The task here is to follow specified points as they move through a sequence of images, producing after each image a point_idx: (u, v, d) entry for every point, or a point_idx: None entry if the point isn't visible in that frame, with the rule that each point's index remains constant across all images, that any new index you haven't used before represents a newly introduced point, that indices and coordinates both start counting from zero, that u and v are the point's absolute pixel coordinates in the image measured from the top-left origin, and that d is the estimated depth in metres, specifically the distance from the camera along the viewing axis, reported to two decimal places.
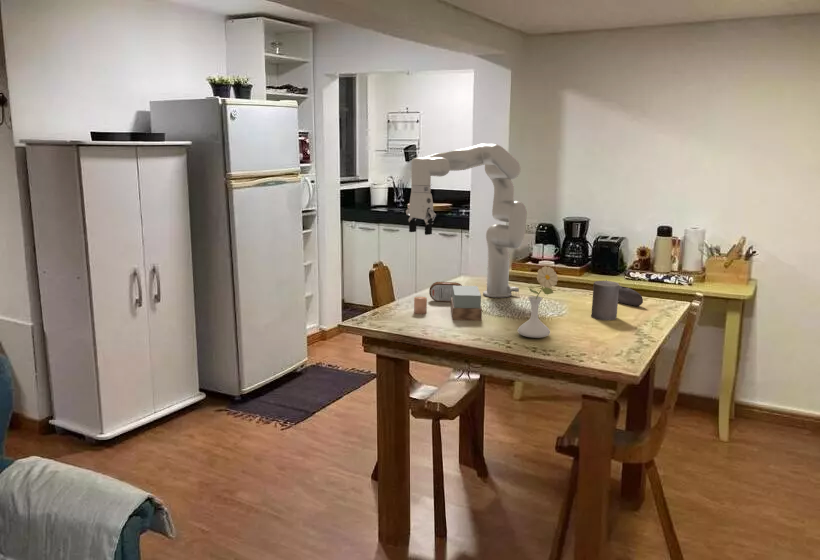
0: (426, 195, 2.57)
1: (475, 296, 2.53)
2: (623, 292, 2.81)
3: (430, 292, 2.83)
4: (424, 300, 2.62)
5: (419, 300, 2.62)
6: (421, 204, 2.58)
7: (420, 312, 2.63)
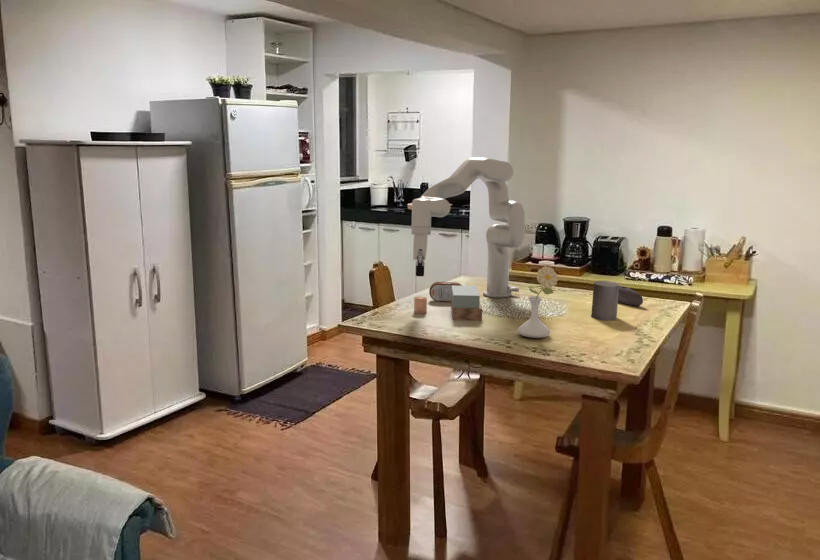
0: None
1: (474, 296, 2.53)
2: (623, 293, 2.81)
3: (430, 292, 2.83)
4: (424, 300, 2.62)
5: (419, 300, 2.62)
6: None
7: (420, 312, 2.63)
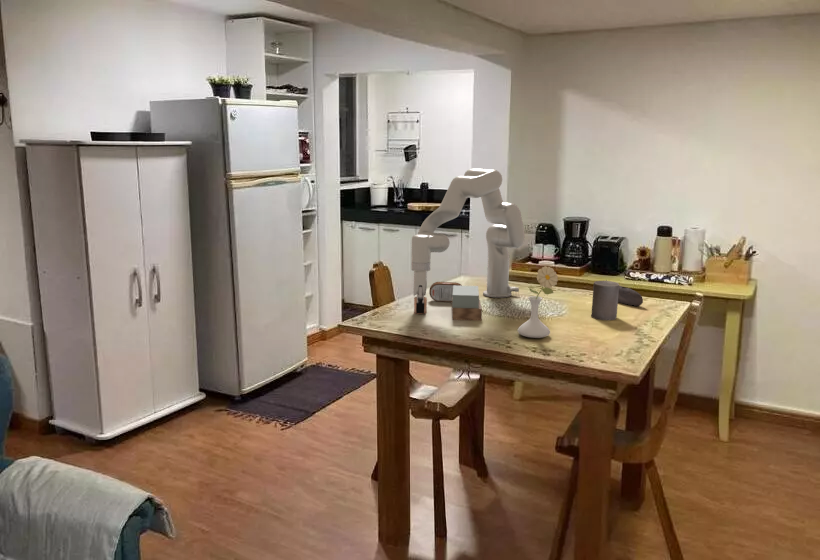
0: None
1: (473, 296, 2.53)
2: (623, 293, 2.81)
3: (430, 292, 2.83)
4: (424, 300, 2.62)
5: None
6: None
7: None
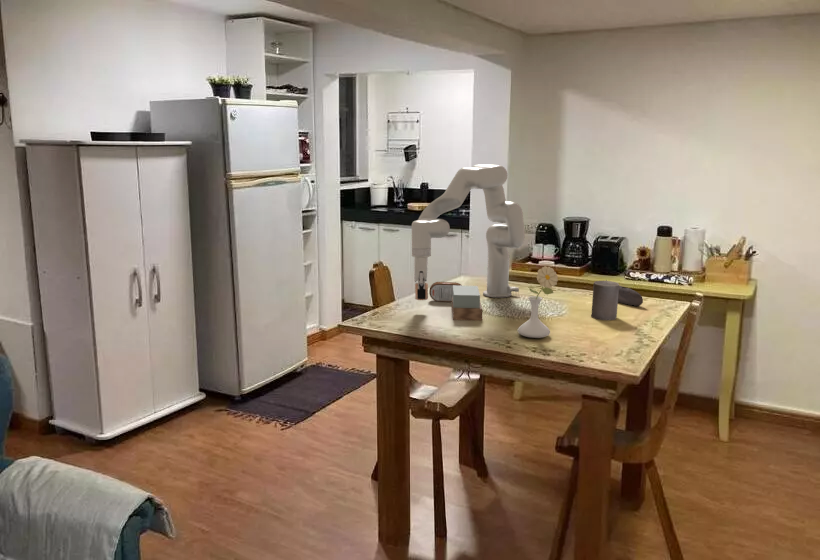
0: None
1: (474, 296, 2.53)
2: (623, 293, 2.81)
3: (430, 292, 2.83)
4: (425, 286, 2.61)
5: None
6: None
7: None
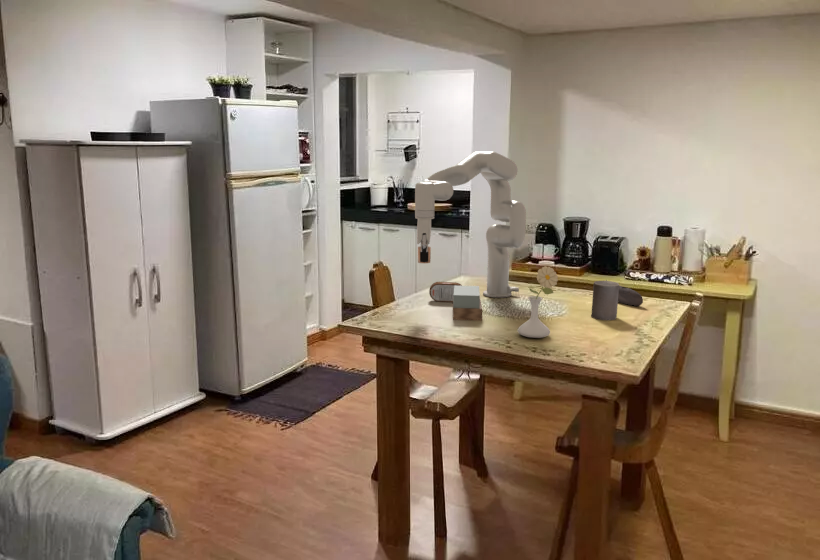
0: None
1: (474, 296, 2.53)
2: (623, 293, 2.81)
3: (430, 292, 2.83)
4: (428, 249, 2.58)
5: None
6: None
7: None
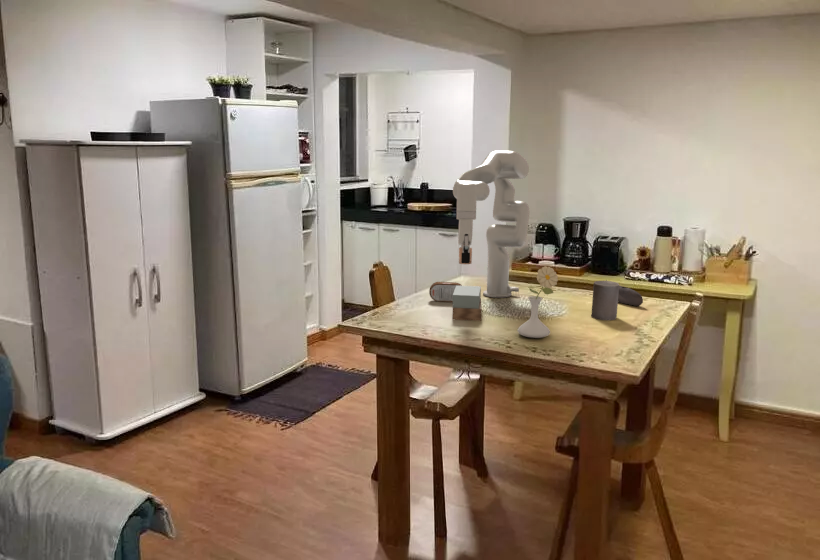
0: None
1: (473, 296, 2.53)
2: (623, 292, 2.81)
3: (430, 292, 2.83)
4: None
5: None
6: None
7: None
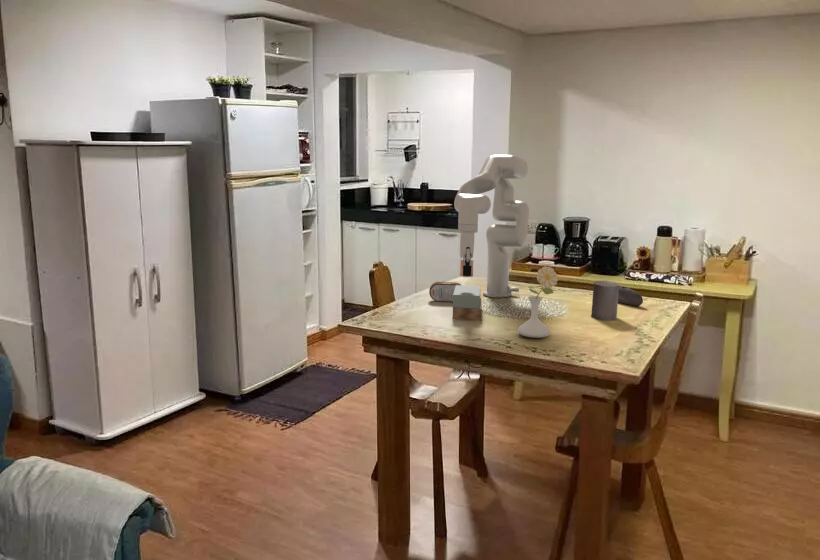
0: None
1: (473, 296, 2.53)
2: (623, 292, 2.81)
3: (430, 292, 2.83)
4: (471, 263, 2.58)
5: None
6: None
7: None
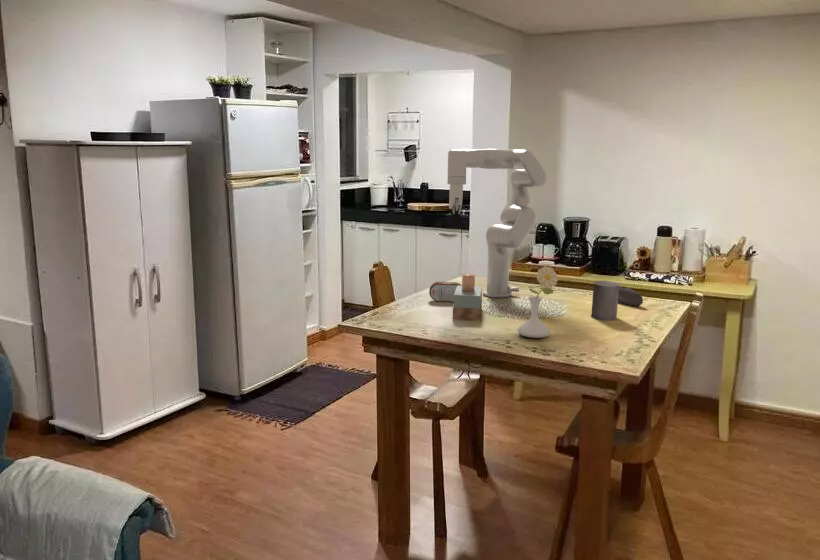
0: None
1: (474, 296, 2.53)
2: (623, 293, 2.81)
3: (430, 292, 2.83)
4: (472, 277, 2.59)
5: (467, 277, 2.59)
6: None
7: (468, 289, 2.59)
